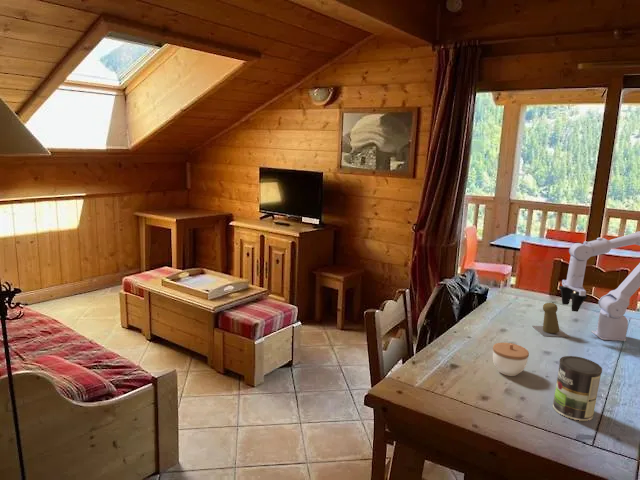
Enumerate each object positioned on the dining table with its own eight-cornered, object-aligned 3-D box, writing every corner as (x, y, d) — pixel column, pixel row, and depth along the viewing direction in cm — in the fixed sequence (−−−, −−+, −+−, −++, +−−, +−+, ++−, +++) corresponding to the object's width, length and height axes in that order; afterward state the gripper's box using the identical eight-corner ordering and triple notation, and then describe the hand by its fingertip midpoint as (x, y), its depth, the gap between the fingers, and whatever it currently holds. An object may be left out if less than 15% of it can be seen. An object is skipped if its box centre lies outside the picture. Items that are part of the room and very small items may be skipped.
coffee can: (566, 421, 127) (574, 373, 124) (545, 401, 137) (552, 355, 134) (602, 421, 128) (611, 373, 125) (579, 400, 138) (586, 355, 135)
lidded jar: (503, 381, 148) (507, 353, 146) (483, 365, 158) (486, 338, 156) (533, 378, 151) (537, 350, 149) (511, 362, 161) (514, 336, 159)
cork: (562, 332, 186) (561, 305, 184) (546, 334, 186) (545, 307, 184) (555, 326, 192) (554, 300, 190) (540, 327, 192) (538, 302, 190)
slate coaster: (556, 329, 195) (556, 326, 194) (569, 339, 185) (569, 336, 185) (531, 328, 194) (532, 325, 194) (543, 338, 185) (543, 335, 184)
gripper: (556, 268, 191) (551, 300, 194) (574, 279, 177) (568, 313, 180) (574, 269, 191) (568, 301, 194) (593, 280, 177) (587, 314, 180)
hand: (569, 307), depth 187 cm, fingers open, 7 cm apart
